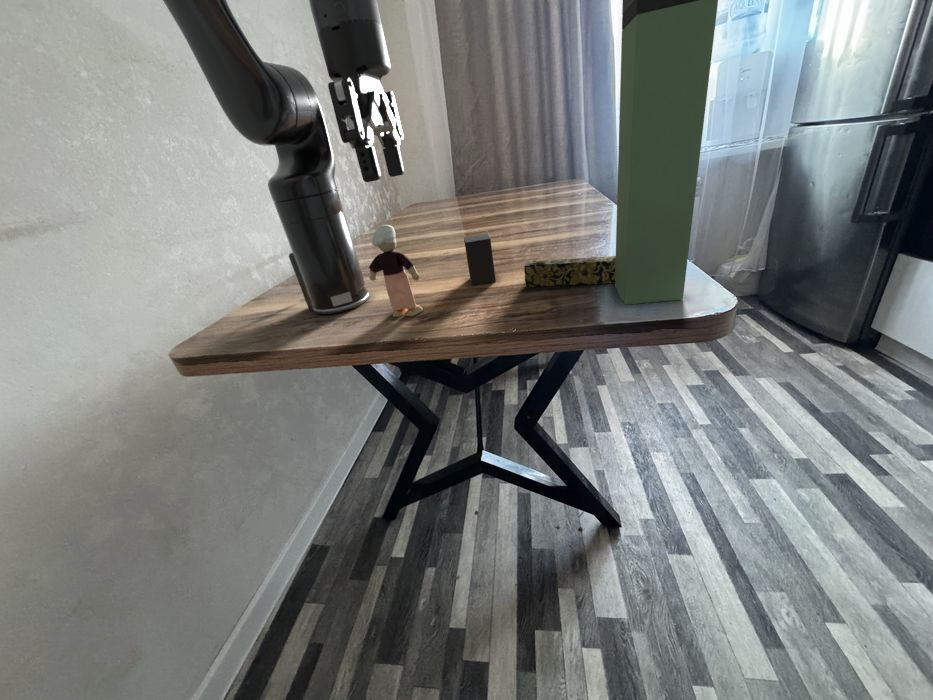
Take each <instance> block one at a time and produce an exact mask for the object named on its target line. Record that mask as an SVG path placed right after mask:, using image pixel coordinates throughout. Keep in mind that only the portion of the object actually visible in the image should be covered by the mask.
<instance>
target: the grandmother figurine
mask: <svg viewBox="0 0 933 700" xmlns="http://www.w3.org/2000/svg"><path fill="white" fill-rule="evenodd" d="M396 235H397V233H396V231H395V228H394V226H392V225H390V224H381V225H379V226H378V227H377V228H376V229H375V231H374V232H373V235H372V242H371V244H372V245H373V246H374V247H377V248H378V249H379V250H380V251H381V253H379V254H377V255H375V257H374V259H373V260H371V263H370V265H368V268H369V277H368V278H369V280H370V281H373V282H374V281H376V280H377V275H378V273H380V272H381V271H382V273H383V280H384V283H385V288H386V292H387V296H388V299H389V301H390V306H391V308H392V310H393V313H392V317H393V318H400V317H402V316H404V315H405V316H406V317H414V316H416V315H418V314H420V313H422V312H423V311H424V309H423V307H422V306H421V305H419V304H417V302H416V298H415V296H414V293H413V289H412V286H411V282H410V279H409V277H408V274H407V272H406V271H408V273H409V275H411V278H412V280H414V281H418V280H419V279H420V274H419V273H418V271H417V269H416V267H415V264H414V263H413V262H412V261H411V260H410V258H409V257H408V256H407V255H406V254H404V253H403V252H400V251H396V250H395V249H396V247H397V236H396ZM405 313H406V314H405Z"/></svg>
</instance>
